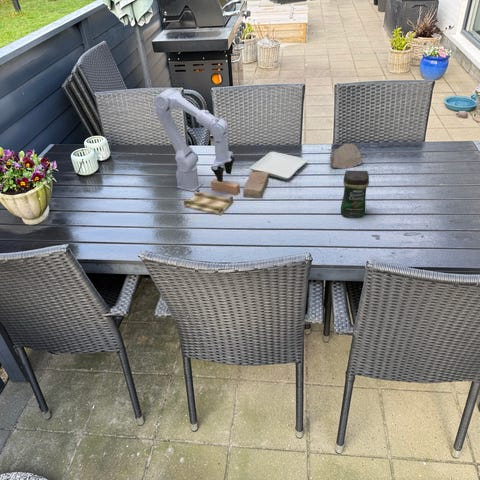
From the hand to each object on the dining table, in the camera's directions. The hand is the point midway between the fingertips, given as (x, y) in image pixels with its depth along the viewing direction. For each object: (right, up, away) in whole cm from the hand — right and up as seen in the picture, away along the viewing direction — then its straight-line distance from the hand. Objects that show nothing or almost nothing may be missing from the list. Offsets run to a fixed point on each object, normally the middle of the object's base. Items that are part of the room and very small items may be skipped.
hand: (224, 177), depth 197 cm
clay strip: (0, -6, +4) cm, 7 cm away
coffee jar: (+52, -17, -17) cm, 57 cm away
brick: (+14, -5, +4) cm, 16 cm away
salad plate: (+26, +6, +18) cm, 32 cm away
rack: (-7, -12, -5) cm, 15 cm away
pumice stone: (+57, +8, +17) cm, 60 cm away
